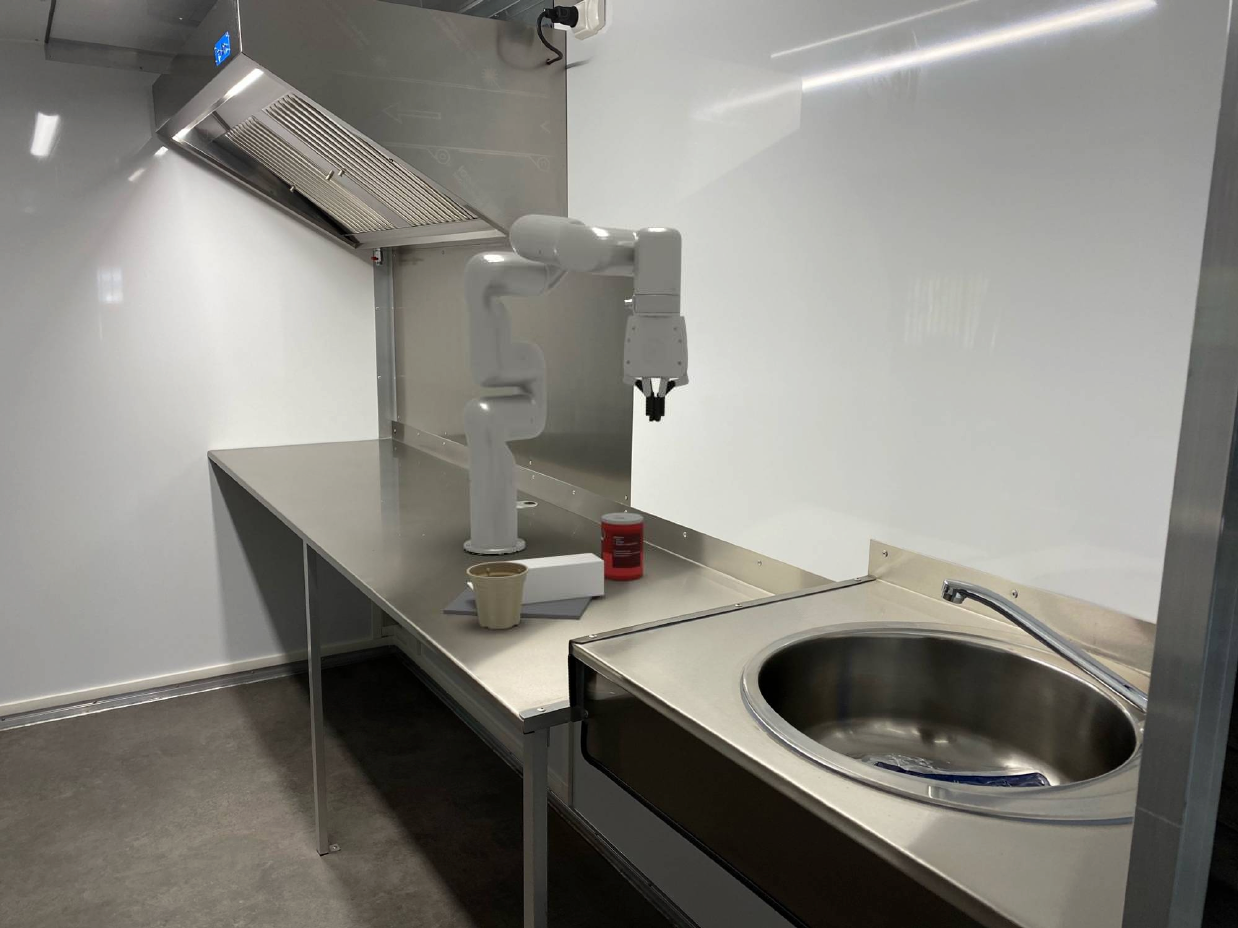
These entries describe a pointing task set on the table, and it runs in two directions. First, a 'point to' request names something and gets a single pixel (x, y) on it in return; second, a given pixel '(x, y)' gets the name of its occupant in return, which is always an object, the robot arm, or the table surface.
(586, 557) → the milk
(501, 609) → the flower pot
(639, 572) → the canned food
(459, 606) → the mat
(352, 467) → the table surface
